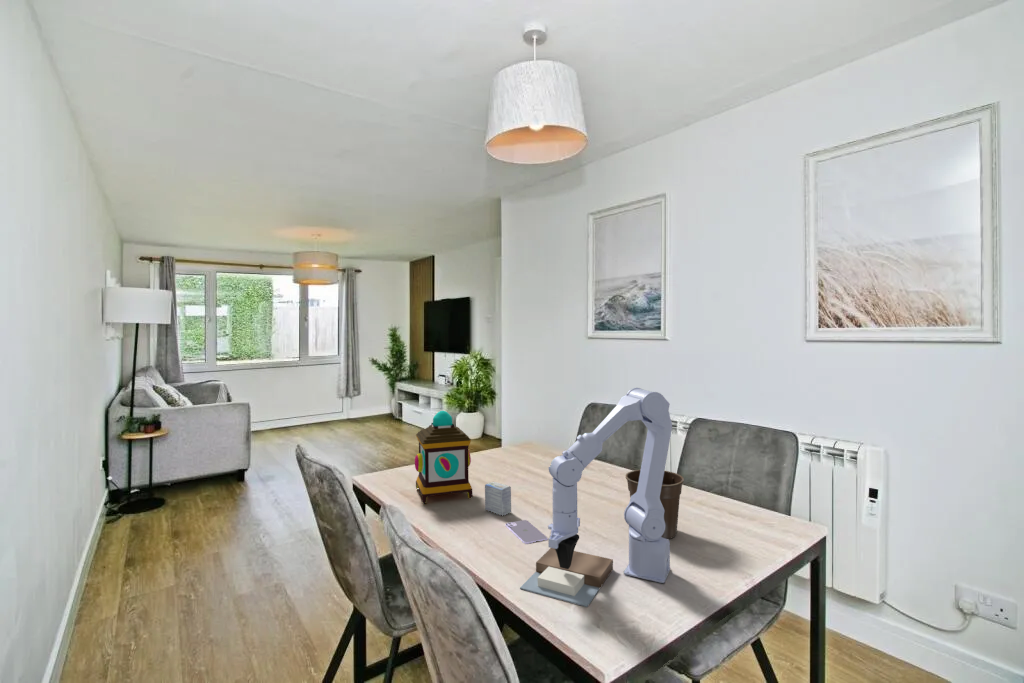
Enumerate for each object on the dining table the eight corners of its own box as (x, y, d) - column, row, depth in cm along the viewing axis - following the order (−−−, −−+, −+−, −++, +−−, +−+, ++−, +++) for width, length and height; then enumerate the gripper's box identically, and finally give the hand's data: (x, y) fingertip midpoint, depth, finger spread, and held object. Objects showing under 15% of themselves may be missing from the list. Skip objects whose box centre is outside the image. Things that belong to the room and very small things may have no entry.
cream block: (584, 583, 114) (584, 575, 114) (574, 596, 109) (574, 587, 109) (548, 574, 118) (548, 566, 118) (537, 586, 113) (537, 577, 113)
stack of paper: (511, 512, 159) (511, 486, 159) (502, 516, 156) (501, 489, 156) (494, 507, 164) (494, 481, 164) (484, 510, 161) (484, 484, 161)
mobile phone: (524, 542, 136) (503, 522, 150) (524, 545, 136) (503, 525, 150) (549, 537, 139) (526, 518, 152) (549, 541, 139) (526, 521, 153)
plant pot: (614, 526, 148) (614, 472, 148) (657, 517, 154) (657, 466, 154) (649, 548, 133) (649, 488, 133) (696, 537, 139) (696, 480, 139)
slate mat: (599, 589, 112) (599, 587, 112) (587, 607, 105) (587, 605, 105) (535, 573, 120) (535, 571, 120) (520, 588, 113) (520, 587, 113)
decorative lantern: (464, 483, 190) (463, 405, 189) (477, 499, 171) (476, 413, 171) (411, 488, 184) (410, 408, 183) (419, 506, 165) (417, 417, 164)
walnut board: (612, 569, 121) (612, 559, 121) (599, 588, 112) (599, 577, 112) (552, 555, 129) (552, 546, 129) (536, 572, 120) (536, 562, 120)
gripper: (561, 496, 123) (561, 550, 124) (535, 516, 110) (536, 576, 111) (588, 501, 120) (588, 556, 120) (565, 522, 107) (565, 584, 107)
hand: (565, 567), depth 115 cm, fingers closed
